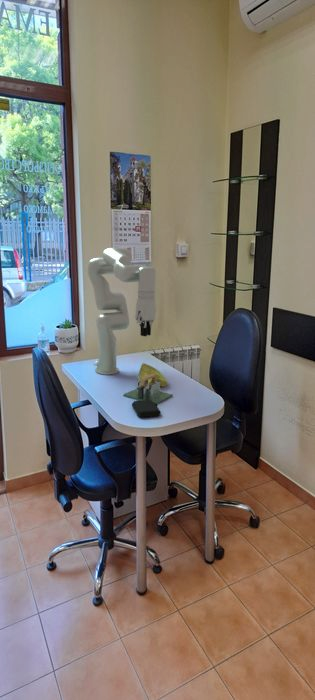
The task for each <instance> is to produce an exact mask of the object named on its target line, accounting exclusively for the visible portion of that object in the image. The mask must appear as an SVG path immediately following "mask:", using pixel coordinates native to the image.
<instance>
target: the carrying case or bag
mask: <svg viewBox="0 0 315 700" xmlns="http://www.w3.org/2000/svg"><path fill="white" fill-rule="evenodd" d="M131 406H132V408H133V409H134V411H135V413H136V415H137V416H138V417H139V418H141V419H146V418H157V417H159V416H160V415H161V410H160V409H159V404H156V403H155V402H153V401H151V400H142V401H140V400H134V401H132V403H131Z"/></svg>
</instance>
